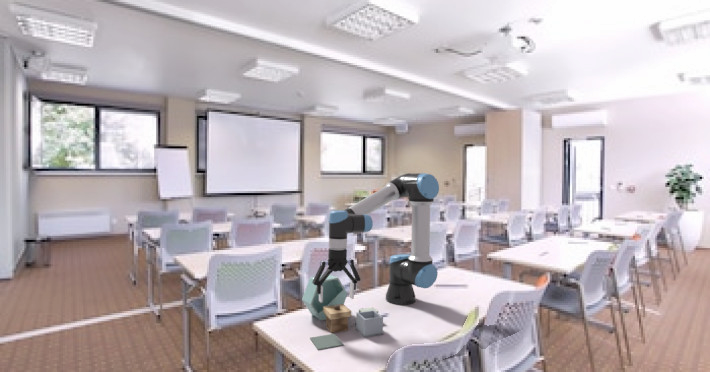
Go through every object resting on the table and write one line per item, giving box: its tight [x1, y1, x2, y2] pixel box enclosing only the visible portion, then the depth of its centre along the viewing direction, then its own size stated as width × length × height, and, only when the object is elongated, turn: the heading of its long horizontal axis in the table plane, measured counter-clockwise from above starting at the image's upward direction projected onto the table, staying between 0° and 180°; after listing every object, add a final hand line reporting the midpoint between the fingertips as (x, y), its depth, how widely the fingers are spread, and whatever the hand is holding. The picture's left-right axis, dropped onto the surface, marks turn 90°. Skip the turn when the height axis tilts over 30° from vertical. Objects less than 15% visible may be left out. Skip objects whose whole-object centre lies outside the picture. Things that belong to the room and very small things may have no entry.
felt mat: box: [309, 333, 344, 351], centre depth 138 cm, size 10×10×1 cm
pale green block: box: [358, 306, 379, 314], centre depth 159 cm, size 7×5×5 cm
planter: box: [301, 274, 348, 321], centre depth 164 cm, size 17×8×21 cm
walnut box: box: [325, 316, 349, 334], centre depth 151 cm, size 7×7×6 cm
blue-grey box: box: [355, 310, 384, 338], centre depth 148 cm, size 8×8×7 cm
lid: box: [323, 303, 352, 320], centre depth 151 cm, size 9×9×3 cm
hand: (336, 299), depth 150 cm, fingers open, 13 cm apart
